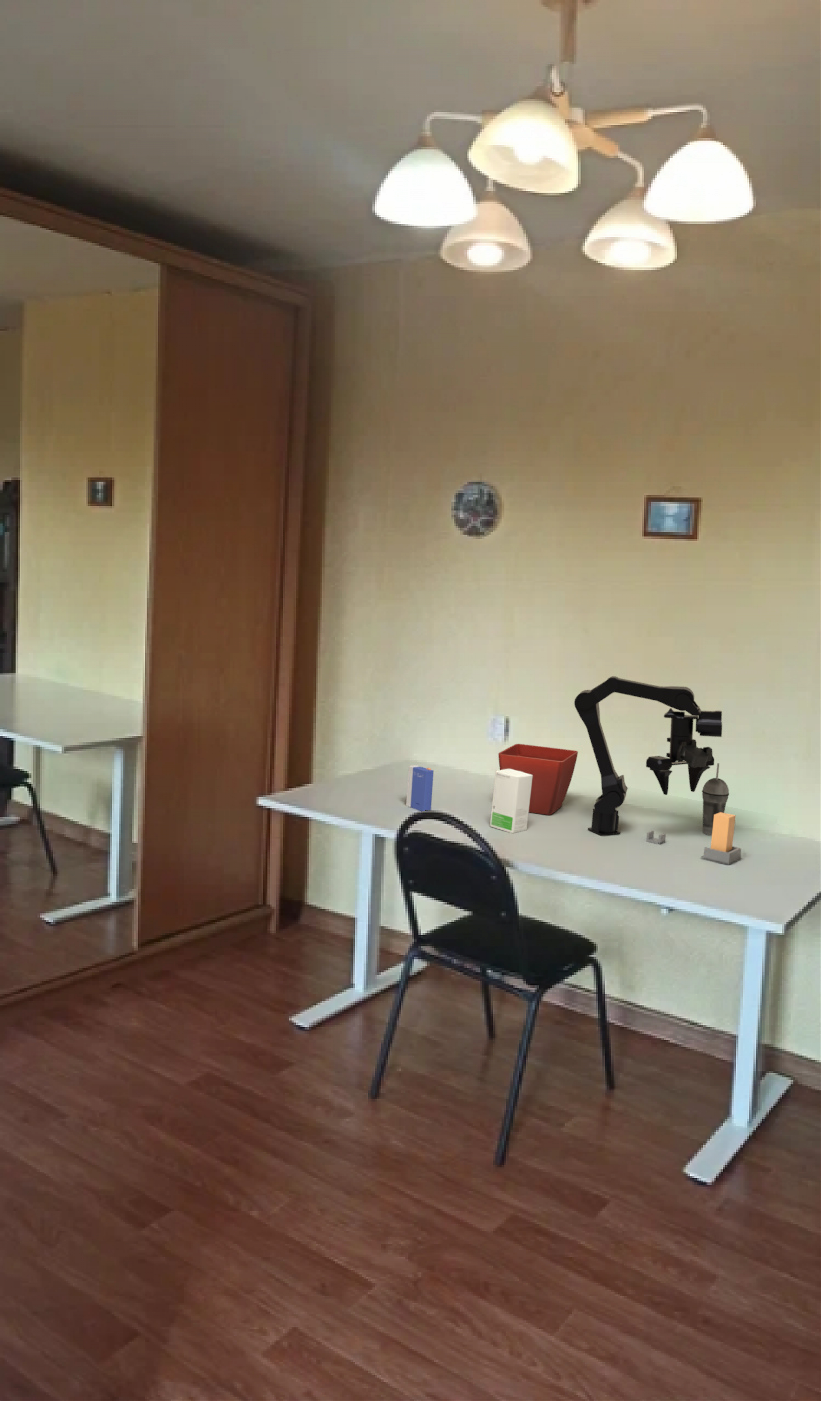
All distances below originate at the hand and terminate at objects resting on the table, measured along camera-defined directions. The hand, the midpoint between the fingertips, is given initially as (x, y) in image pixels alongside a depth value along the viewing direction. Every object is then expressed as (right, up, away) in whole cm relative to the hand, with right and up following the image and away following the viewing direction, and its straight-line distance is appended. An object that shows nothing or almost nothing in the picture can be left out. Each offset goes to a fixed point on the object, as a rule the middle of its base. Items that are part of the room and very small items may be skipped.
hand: (679, 793), depth 298 cm
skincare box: (-45, -10, +4) cm, 46 cm away
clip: (-6, -13, 0) cm, 14 cm away
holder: (+7, -16, -13) cm, 22 cm away
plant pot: (-35, -7, +29) cm, 46 cm away
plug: (+7, -15, -13) cm, 21 cm away
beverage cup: (+12, -12, +13) cm, 21 cm away
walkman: (-69, -6, +21) cm, 72 cm away
